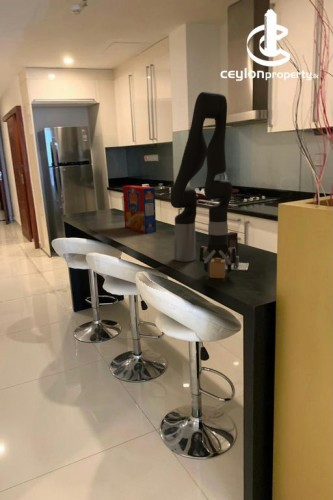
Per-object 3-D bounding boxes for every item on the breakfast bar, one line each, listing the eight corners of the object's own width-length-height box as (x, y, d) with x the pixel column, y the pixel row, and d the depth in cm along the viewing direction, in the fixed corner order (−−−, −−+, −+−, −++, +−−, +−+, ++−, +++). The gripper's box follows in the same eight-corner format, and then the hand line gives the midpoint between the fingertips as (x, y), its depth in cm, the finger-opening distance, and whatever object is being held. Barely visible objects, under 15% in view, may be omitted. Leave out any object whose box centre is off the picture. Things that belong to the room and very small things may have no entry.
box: (230, 256, 183) (231, 231, 180) (238, 258, 179) (238, 232, 176) (221, 258, 179) (222, 233, 176) (229, 260, 176) (229, 234, 173)
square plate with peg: (223, 269, 163) (223, 259, 162) (225, 263, 172) (225, 253, 171) (247, 270, 160) (247, 260, 159) (248, 264, 169) (249, 254, 168)
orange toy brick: (209, 277, 153) (209, 260, 151) (211, 273, 158) (211, 256, 156) (223, 278, 151) (224, 261, 149) (225, 274, 156) (225, 257, 155)
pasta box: (124, 227, 263) (122, 186, 256) (135, 226, 267) (133, 185, 260) (145, 234, 240) (143, 188, 233) (156, 232, 244) (154, 187, 237)
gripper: (198, 233, 149) (198, 274, 152) (235, 234, 145) (234, 276, 149) (201, 230, 156) (201, 268, 159) (237, 231, 152) (236, 270, 156)
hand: (217, 272), depth 154 cm, fingers open, 8 cm apart
